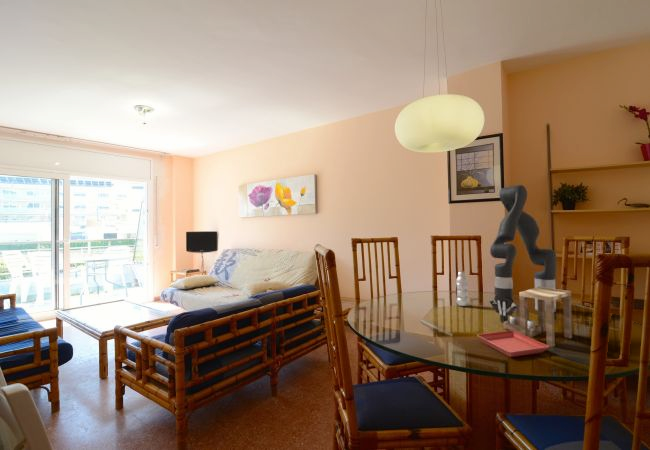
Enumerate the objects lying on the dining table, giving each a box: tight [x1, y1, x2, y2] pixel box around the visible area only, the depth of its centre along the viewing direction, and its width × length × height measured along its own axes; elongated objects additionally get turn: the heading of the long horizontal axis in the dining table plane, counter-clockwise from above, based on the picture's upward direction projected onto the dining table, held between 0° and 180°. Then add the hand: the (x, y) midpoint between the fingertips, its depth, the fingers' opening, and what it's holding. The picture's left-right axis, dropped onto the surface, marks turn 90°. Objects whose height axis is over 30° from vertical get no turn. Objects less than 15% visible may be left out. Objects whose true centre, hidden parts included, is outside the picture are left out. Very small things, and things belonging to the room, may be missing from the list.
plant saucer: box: [476, 330, 550, 358], centre depth 127 cm, size 18×18×3 cm
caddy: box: [503, 304, 542, 338], centre depth 143 cm, size 8×12×11 cm, turn 31°
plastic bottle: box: [455, 270, 470, 307], centre depth 187 cm, size 6×7×20 cm
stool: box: [518, 287, 573, 348], centre depth 135 cm, size 17×12×20 cm
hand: (504, 322), depth 150 cm, fingers closed
